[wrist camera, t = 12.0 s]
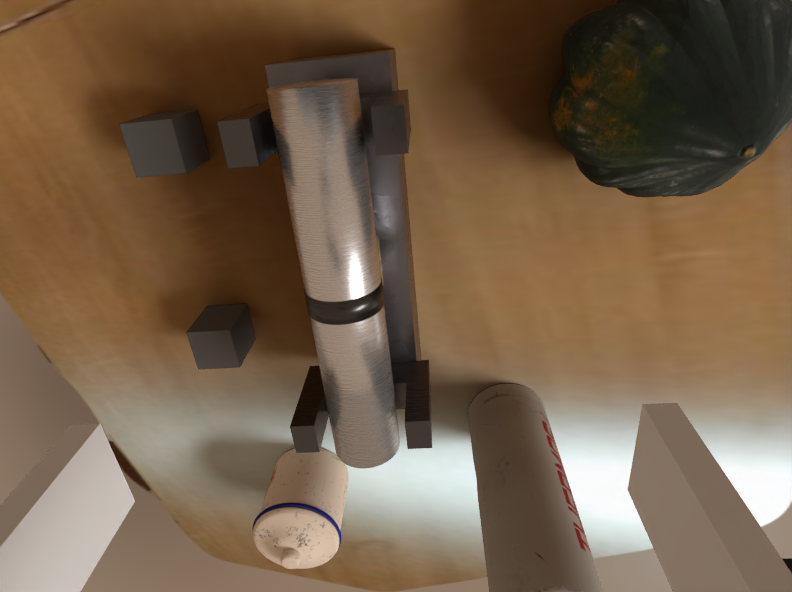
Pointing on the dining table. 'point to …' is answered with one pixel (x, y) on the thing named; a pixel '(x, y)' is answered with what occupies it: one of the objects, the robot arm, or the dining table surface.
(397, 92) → the grey cradle stand
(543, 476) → the thermos bottle
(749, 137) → the squash
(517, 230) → the dining table surface
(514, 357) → the dining table surface
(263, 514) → the teacup with lid
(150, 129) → the posts
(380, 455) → the tube
